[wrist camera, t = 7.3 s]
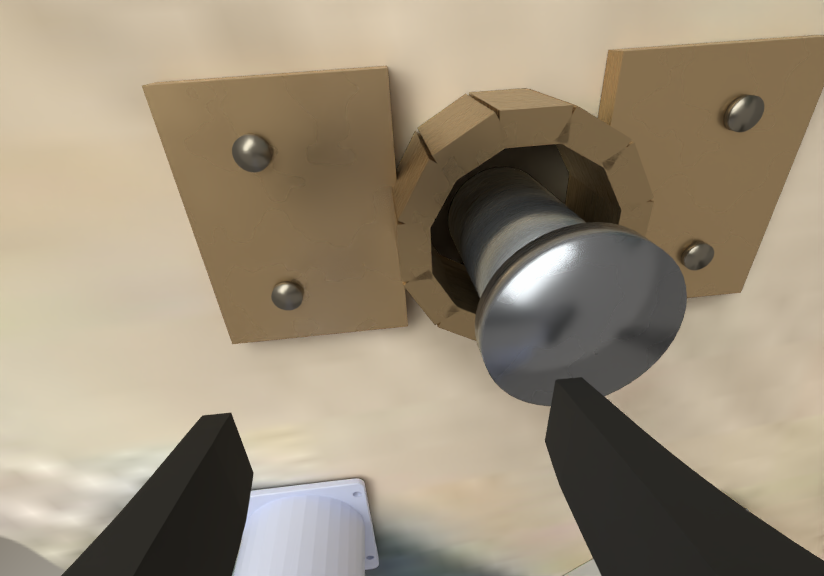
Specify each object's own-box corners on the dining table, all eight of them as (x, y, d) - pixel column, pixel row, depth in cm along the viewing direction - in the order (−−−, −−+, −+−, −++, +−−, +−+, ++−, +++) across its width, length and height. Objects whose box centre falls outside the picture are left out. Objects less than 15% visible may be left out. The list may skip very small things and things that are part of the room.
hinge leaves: (724, 281, 20) (798, 332, 17) (238, 329, 19) (210, 395, 16) (816, 35, 15) (950, 35, 12) (155, 82, 14) (86, 99, 10)
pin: (552, 265, 19) (659, 392, 12) (436, 279, 19) (481, 417, 12) (566, 144, 16) (713, 223, 9) (430, 158, 16) (484, 250, 9)
